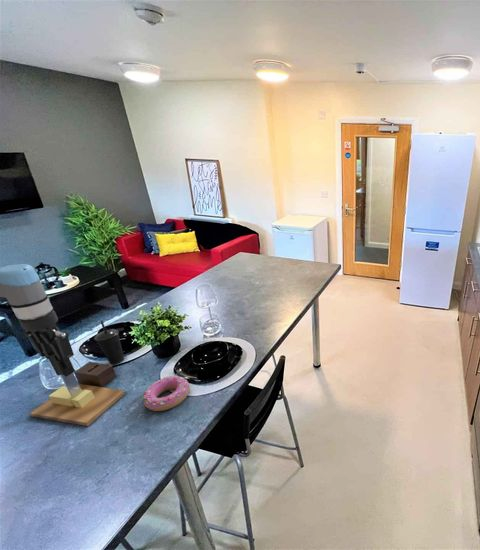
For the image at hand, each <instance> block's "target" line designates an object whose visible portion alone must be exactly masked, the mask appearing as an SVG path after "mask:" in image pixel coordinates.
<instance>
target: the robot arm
mask: <svg viewBox="0 0 480 550" xmlns="http://www.w3.org/2000/svg"><path fill="white" fill-rule="evenodd" d="M0 299H6V300H7V302H8V303H9V305H10V307H11V310H12V311H13V312H14V315H15V317H16V318H17V319H18V322H19V324H20V326H21V327H22V329H23V330H24V332H23V335H25V337H27V338H28V340H29V341H30V343H31V344H32V345H33V347H34V348H35V350H36V351H37V353H38V354H39V355H38V356H40V357H41V358H44V357H45V359H46V360H48V361H49V363H50V364H51V366H52V368H53V370H54V372H55V374H56V376H60V375H59V374H58V373H57V371H56V369H55V367H54V365H53V363H52V361H51V359H50V357H49V355H50V354H52V353H55V355H56V356H57V358H58V359H59V360H57V361H56V362H58V364H59V366H60V368H61V370H62V372H63V374H64V376H65V377H67V376H69V375H70V374H72V373H73V374H74V372H75V371H76V370H75V367H74V366H73V363H72V361H71V358H72V357H74V356H75V355H74V350H73V348H72V345H71V343H70V339H69V332H68V331H64V332H62V331H60V328H58V326H57V325H56V324H57V322H58V321H59V318H58V315H57V313H56V311H55V309H54V307H53V306H52V303H51V301H50V298H49V296H48V295H47V293H46V290H45V288H44V286H43V283H42V282H41V279H40V276H39V274H38V273H37V272H36V270H35V268H34V267H33V266H32V265H30V264H27V263H19V264H9V265H5V266H2V267H0Z"/></svg>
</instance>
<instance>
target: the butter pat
mask: <svg viewBox="0 0 480 550" xmlns="http://www.w3.org/2000/svg"><path fill="white" fill-rule="evenodd" d="M94 398H95V397H94V395H93V393H92V391H91V390H84V391H82V392H81V393H80V394H78V395H77V396H76V397H74V398H73V399H72V401H73V403H74V405H75V407H78V408H83V407H84V406H85V405H86V404H88V403H89V402H90V401H91V400H93V399H94Z"/></svg>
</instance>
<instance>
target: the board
mask: <svg viewBox="0 0 480 550" xmlns="http://www.w3.org/2000/svg"><path fill="white" fill-rule="evenodd" d="M78 384H79V383H78ZM79 386H80V388H81V389H82V390H83V391H84V390H91V391H92V393H93V395H94V397H95V398H94V399H93V400H91V401H90V402H89V403H88V404H86V405H85V406H84V407H83V408H78V407H75V405H74V406H66V405H60V404H54V403H52V401H51V399H50V398H49V399H48V400H46V401H44V402H43V403H41V405H39V406H37V407H36V408H35V409H33V410H32V411H31V412H29V415H30V417H32V418H33V417H34V418H38V419H39V418H40V419H44V420H45V419H46V420H50V421H57V422H62V423H69V424H74V425H81V426H84V427H85V426H87V427H89V425H91V424H93V422H95V420H97V419H98V418H99V417H100V416H101V415H103V414H104V413H105V412H106V411H107V410H108V409H109V408H111V406H113V405H114V404H115V403H116V402H118V401H119V400H120V399H121V398H122V397H123V396H125V395H126V392H125V390H122V389H114V388H110V387H104V386H103V387H97V386H90V385H84V384H79Z"/></svg>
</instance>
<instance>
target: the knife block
mask: <svg viewBox="0 0 480 550" xmlns="http://www.w3.org/2000/svg"><path fill="white" fill-rule="evenodd" d="M73 374H74V376H75V378H76V380H77V382H78V384H84V385H90V386H97V387H103V388H104V387H105V386H106V385H107V384H109V383H110V382H111V381H113V380H114V379H115V378H117V374H116V372H115V370H114V367H113V364H110V363H109V364H108V363H103V362H94V361H88V362H87V363H85V364H84V365H82V366H80V367H79V368H78V369H76V370H75V372H73Z"/></svg>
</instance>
